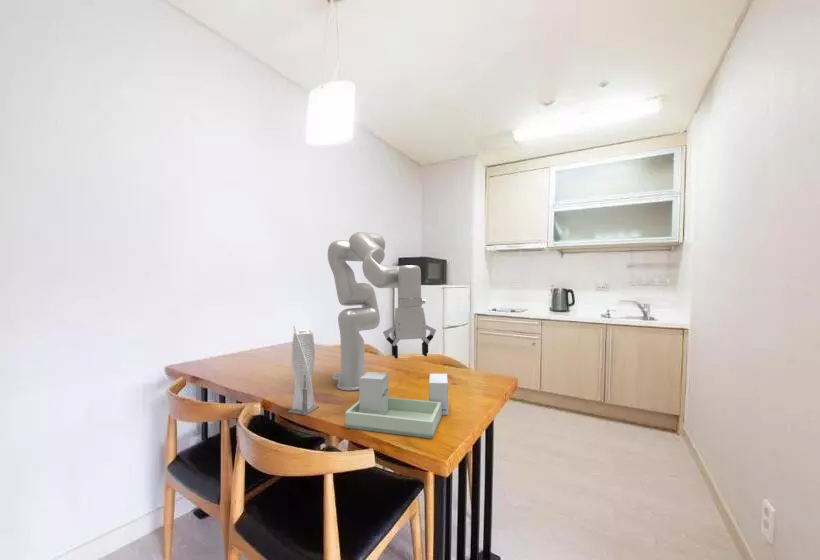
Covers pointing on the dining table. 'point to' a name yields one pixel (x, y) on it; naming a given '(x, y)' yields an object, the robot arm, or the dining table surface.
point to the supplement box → (373, 393)
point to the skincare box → (439, 390)
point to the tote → (399, 418)
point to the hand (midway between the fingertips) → (410, 356)
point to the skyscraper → (303, 371)
